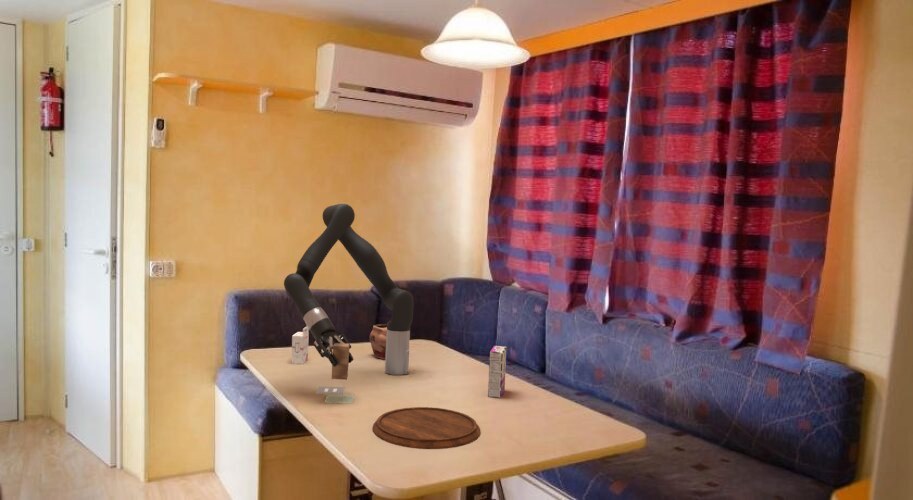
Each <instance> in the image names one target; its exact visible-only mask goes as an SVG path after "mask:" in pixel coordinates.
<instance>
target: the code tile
mask: <svg viewBox="0 0 913 500" xmlns="http://www.w3.org/2000/svg"><path fill="white" fill-rule="evenodd" d="M344 390H345V386H322V385H321V386H318V388H317V391H316V395H319V394H320V395H344V394H343V393H344Z"/></svg>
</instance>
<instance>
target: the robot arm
mask: <svg viewBox="0 0 913 500" xmlns="http://www.w3.org/2000/svg"><path fill="white" fill-rule="evenodd" d="M355 214H356V213H355V210H354V208H353V207H352V206H351V205H349V204H347V203H339V204H338V203H337V204H333V205H330V206H329V205H328V206H327V207H326V208H324V210H323V211H322V220H323V223H324V225H325V226H326V228H325V229H324V230H323V232H322V233H321V234H320V235H319V236H318V237H317V238H316V239H315V240H314V241H313V242H312V243H311V244H310V245H309V247H307V249H306V250H305V252H304V253H303V255H302V256H301V258H300V260H299V261H298V263H297V265H296V272H295V273H290V274H287V276H286V277H284V281H283V287H284V291H285V293H286V295H287V296H288V297H289V298H290V299H291V300H293V302H294V304H295V306H296V309H297V312H298V313H299V314H300V315H301V318H302V319H303V321H304V323H305V325H306V326H307V327H308V329H309V331H310V333H311V335H312V336H313V338H314V339H315V341H314V342H313V343H312V345H313V347H314V348H315V349H316V351H317V352H318V354H319V356H320V357H322V358H326V359H328V361H329V362H330V364H331V366H332V365H333V366H334V367H335V366H337V365H338V364H339V362H338V360H337V359H336V357H335V355H334V354H333V345H334V344H335V343H345V344H349V350H350V349H351V348H352V345H351V343H350V342H349V340H348V339H347V337H346V335H345V334H344V333H341V334H340V335H338V334H337V333H336V327H335V325H334V324H333V323H332V321H331V320H330V318H329V315H327V313H326V312H325V310H324V309H323V308H322V307H321V304H319V302H318V300H317V299H316V298H315V296H314V295H313V294H312V291H311V289H310V285H311V284H312V281H313V279H314V277H315V274H316V272H317V271H318V270H319V269H320V267H321V265H322V264H323V262H324V261H325V259H326V257H327V255H328V254H329V253H330V251H331V250H332V249H333V247H334V246H335V245H336V244H337V242H338V241H339V242H340V243H341V245H342V246H343V247H344V249H345V250H346V251H347V253H348V254H349V255H350V257H351V258H352V259H353V261H354V262H355V264H356V265H357V267H358V269H360V271H361V272H362V273H363V275H364V276H365V277H366V278H367V279H368V281H369V282H370V283H371V285H372V286H373V287H374V288H375V290H376V291H377V292H378V294H379V296H380V298H381V300H382V301H383V303H384V305H385V306H386V308H387V309H388V310H389V311H392V312H391V319H390V320H389V321H387V324H386V325H387V336H386V358H385V359H384V360H385V362H384V365H385V366H384V373H385V374H387V375H392V376H395V375H396V376H402V375H409V364H410V363H409V361H410V340H411V325H413V324H412V323H413V320H414V318H413V317H414V307H415V306H414V305H415V301H414V297H413V294H412V293H411V292H410V291H408V290H404V289H401V288H399V287H398V286H397V284H396V283H395V282H394V281H393V280H392V278H391V277H390V275H389V273H388V270H387V266H386V263H385V261H384V259H383V258H382V257H383V256H381V254H380V253H379V251H378V250H377V249H376V248H375V246H374V245H372V244H371V243H370V242H369V241H368V240H366V239H365V238H364V237H362V236H361V235H359V234H358V233H357V232H356V231H355V230H354V229H353V228H352V225H353V224H354V221H355V217H356V215H355ZM353 361H354V356H353V355H352V353H351V352H350V351H349V364H351V363H352V362H353Z"/></svg>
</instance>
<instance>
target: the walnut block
mask: <svg viewBox="0 0 913 500" xmlns="http://www.w3.org/2000/svg"><path fill="white" fill-rule="evenodd" d="M332 352H333V354H334V355H335V357H336V359H337V360H338V362H339V364H338V365H337V366H335V367H334V366H333V365H332V364H331V377H330V378H331V380H345V381H346V380H348V378H349V364H350V363H349V352H350V349H349V344H345V343H335V344H334V345H333V349H332Z"/></svg>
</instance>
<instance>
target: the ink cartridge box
mask: <svg viewBox="0 0 913 500" xmlns="http://www.w3.org/2000/svg"><path fill="white" fill-rule="evenodd" d="M309 331H310V330H309V328H308V327H307V325H306V326H305V327H304V328H302V331H297V332H296V333H293V335H291V364H292V365H293V364H296V365H304V364H305V362H307V361H308V360H309V334H310V332H309Z"/></svg>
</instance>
